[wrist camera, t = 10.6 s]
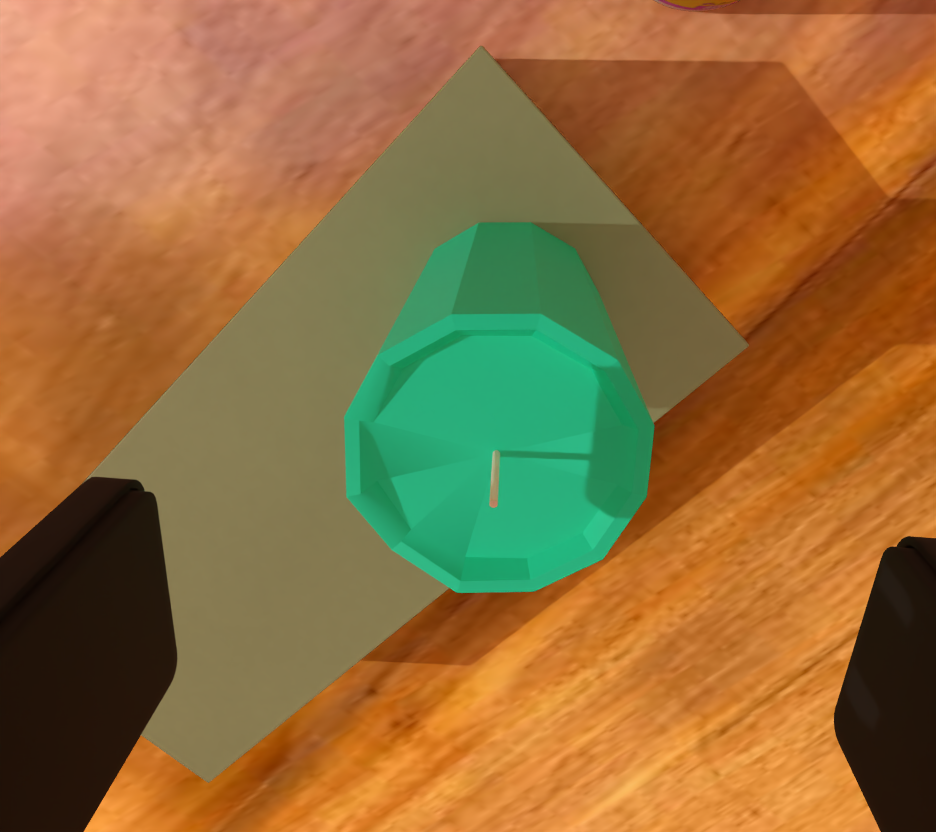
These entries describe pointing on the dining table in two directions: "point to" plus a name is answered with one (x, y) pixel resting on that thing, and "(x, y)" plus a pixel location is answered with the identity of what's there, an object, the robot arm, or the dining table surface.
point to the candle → (500, 418)
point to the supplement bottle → (696, 4)
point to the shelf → (330, 395)
